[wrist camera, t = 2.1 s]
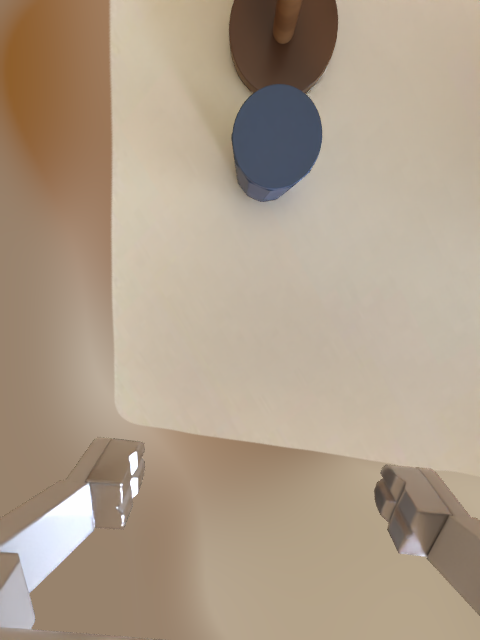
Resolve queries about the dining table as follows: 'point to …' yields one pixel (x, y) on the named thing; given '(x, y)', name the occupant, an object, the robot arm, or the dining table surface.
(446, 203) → the dining table surface
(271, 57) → the peg stand
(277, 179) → the blue cylinder
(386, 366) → the dining table surface
